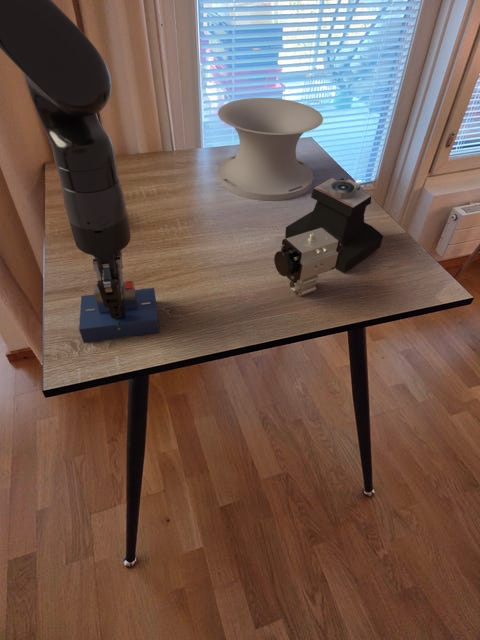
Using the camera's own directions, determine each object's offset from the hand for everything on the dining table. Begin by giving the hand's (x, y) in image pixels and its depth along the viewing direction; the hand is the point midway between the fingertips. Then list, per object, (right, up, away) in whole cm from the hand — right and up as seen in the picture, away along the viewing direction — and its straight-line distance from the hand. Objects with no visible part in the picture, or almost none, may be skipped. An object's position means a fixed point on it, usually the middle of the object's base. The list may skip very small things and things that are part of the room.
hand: (118, 305), depth 67 cm
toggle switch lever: (0, 0, 0) cm, 0 cm away
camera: (+40, +14, +22) cm, 48 cm away
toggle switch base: (0, -2, +2) cm, 3 cm away
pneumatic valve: (+32, +3, +10) cm, 33 cm away
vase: (+26, +35, +43) cm, 61 cm away
